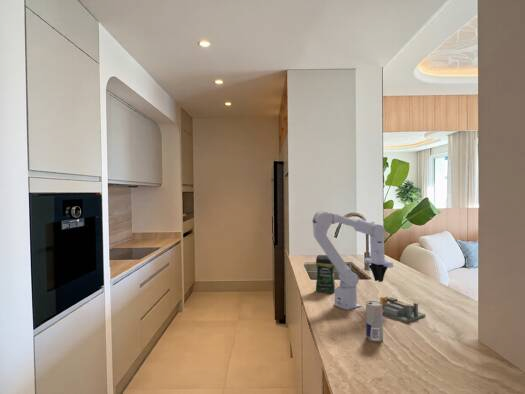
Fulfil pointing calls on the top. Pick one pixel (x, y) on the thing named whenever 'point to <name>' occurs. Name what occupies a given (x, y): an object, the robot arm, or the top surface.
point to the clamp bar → (398, 302)
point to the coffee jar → (325, 275)
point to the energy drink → (374, 321)
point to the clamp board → (409, 315)
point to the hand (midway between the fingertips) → (378, 281)
